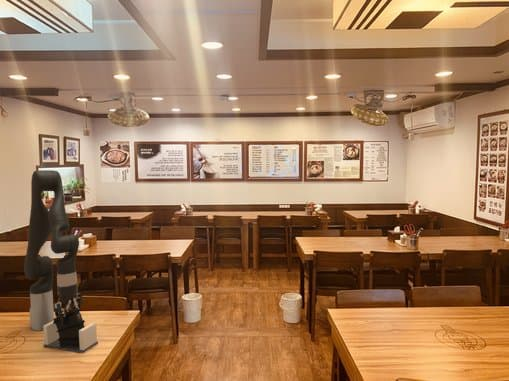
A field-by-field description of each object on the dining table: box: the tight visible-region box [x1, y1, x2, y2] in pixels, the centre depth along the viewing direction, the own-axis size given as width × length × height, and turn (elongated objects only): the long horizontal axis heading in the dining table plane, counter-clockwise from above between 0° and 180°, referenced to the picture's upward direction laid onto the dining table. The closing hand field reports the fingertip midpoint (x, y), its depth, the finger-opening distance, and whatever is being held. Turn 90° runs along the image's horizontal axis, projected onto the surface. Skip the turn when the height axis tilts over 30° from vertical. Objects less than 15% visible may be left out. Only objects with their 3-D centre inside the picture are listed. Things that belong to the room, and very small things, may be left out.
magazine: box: [53, 307, 86, 345], centre depth 164 cm, size 4×13×15 cm, turn 80°
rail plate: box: [42, 339, 99, 354], centre depth 164 cm, size 20×9×1 cm, turn 73°
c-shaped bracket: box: [42, 321, 98, 350], centre depth 164 cm, size 20×8×8 cm, turn 73°
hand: (69, 322), depth 164 cm, fingers open, 5 cm apart
